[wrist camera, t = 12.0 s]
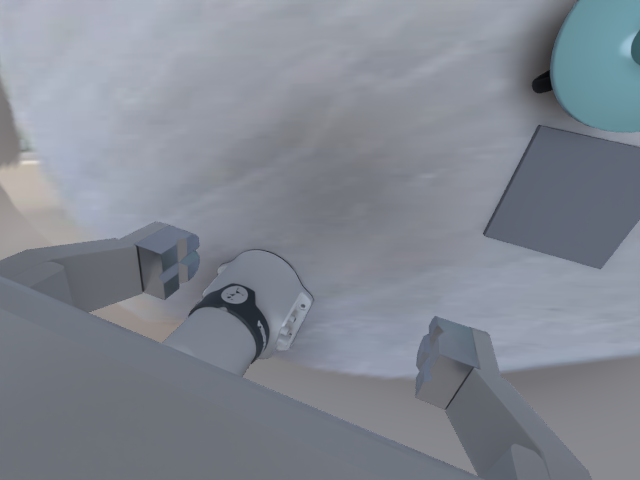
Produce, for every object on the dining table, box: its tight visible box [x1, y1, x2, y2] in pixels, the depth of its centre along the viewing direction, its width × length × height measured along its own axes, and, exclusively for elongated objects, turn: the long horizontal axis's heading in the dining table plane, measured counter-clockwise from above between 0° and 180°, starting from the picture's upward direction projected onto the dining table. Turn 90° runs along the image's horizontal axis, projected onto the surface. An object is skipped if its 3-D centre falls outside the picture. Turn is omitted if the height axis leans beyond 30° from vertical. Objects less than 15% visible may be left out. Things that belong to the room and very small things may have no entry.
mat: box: [483, 125, 640, 269], centre depth 36 cm, size 14×14×1 cm
